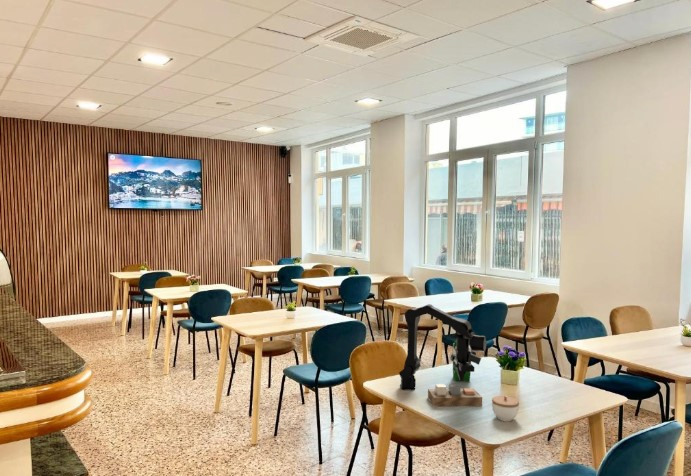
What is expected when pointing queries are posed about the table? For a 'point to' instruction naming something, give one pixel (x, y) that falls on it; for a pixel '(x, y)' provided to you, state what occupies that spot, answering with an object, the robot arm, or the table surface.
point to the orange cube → (468, 391)
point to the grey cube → (454, 389)
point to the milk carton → (455, 375)
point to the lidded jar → (505, 407)
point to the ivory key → (440, 389)
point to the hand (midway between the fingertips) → (461, 380)
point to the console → (454, 399)
